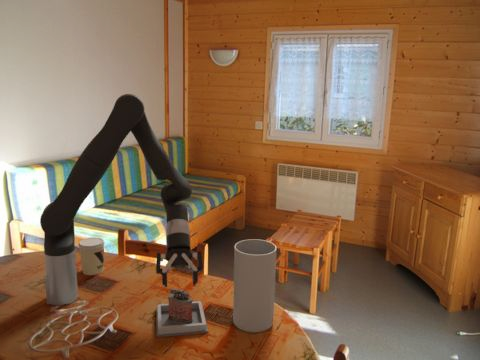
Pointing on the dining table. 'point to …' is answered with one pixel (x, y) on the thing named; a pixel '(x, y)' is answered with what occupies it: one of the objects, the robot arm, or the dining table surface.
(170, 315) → the lighter
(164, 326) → the tray
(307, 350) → the dining table surface
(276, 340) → the dining table surface
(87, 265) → the coffee cup
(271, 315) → the cylinder vase
